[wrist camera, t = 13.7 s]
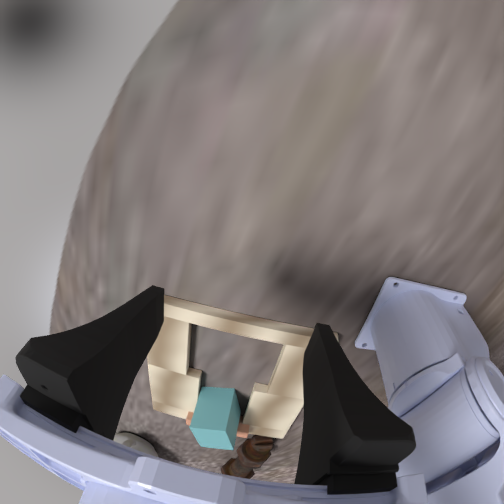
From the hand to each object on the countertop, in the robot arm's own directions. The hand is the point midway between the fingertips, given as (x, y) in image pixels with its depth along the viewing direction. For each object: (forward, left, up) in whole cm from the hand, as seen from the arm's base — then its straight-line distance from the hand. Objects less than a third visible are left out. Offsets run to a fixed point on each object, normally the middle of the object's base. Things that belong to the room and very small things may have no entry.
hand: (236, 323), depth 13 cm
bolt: (-6, +36, -11) cm, 38 cm away
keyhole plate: (0, +18, -10) cm, 21 cm away
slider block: (0, +23, -10) cm, 25 cm away
